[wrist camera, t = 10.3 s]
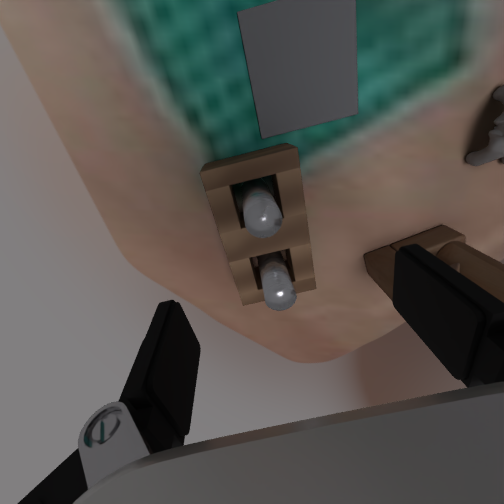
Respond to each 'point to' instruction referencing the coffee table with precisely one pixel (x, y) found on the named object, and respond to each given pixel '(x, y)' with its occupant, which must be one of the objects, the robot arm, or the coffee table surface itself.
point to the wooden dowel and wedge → (446, 249)
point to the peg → (260, 209)
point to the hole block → (233, 225)
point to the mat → (301, 62)
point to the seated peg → (276, 281)
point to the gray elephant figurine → (491, 139)
